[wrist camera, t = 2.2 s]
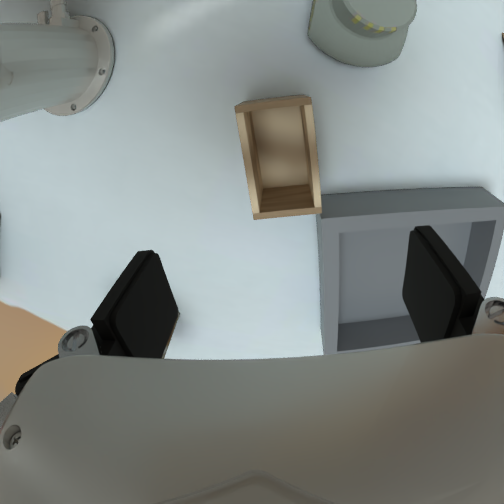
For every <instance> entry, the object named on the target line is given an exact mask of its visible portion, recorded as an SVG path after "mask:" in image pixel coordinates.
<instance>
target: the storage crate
mask: <svg viewBox="0 0 504 504" xmlns="http://www.w3.org/2000/svg"><path fill="white" fill-rule="evenodd" d="M321 206H322V213H319V214H316V219H317V235H318V253H319V276H320V309H321V335H322V344H323V353H324V355H329V354H340V353H350V352H359V351H367V350H375V349H383V348H390V347H397V346H404V345H410V344H416V343H421V342H420V339H419V337H418V334H417V332H416V329H415V327H414V324H413V322H412V319H411V317H410V315H409V312H408V310H407V308H406V305H405V303H404V301H403V297H402V288H403V282H404V275H405V268H406V260H407V252H408V243H409V234H410V231H412V230H414V228H415V226H425V225H430V226H431V227H432V228H433V229H434V230H435V232H436V233H437V234H438V235H439V236H440V238H441V239H442V240H443V241H444V242H445V244H446V245H447V246H448V247H449V249H450V250H451V251H452V252H453V254H454V255H455V256H456V258H457V259H458V260H459V261H460V263H461V264H462V265H463V267H464V268H465V269H466V271H467V272H468V273H469V275H470V276H471V278H472V279H473V280H474V282H475V283H476V285H477V286H478V287H479V289H480V290H481V295H482V297H483V298H484V299H485V296H486V293H487V290H488V287H489V284H490V280H491V277H492V274H493V270H494V267H495V263H496V260H497V256H498V252H499V248H500V244H501V239H502V235H503V230H504V203H503V202H502V201H500V200H499V199H498V198H496V197H495V196H494V195H492V194H491V193H490V192H488V191H487V190H485V189H484V188H483V187H453V188H424V189H403V190H385V191H369V192H354V193H341V194H329V195H321Z"/></svg>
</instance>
